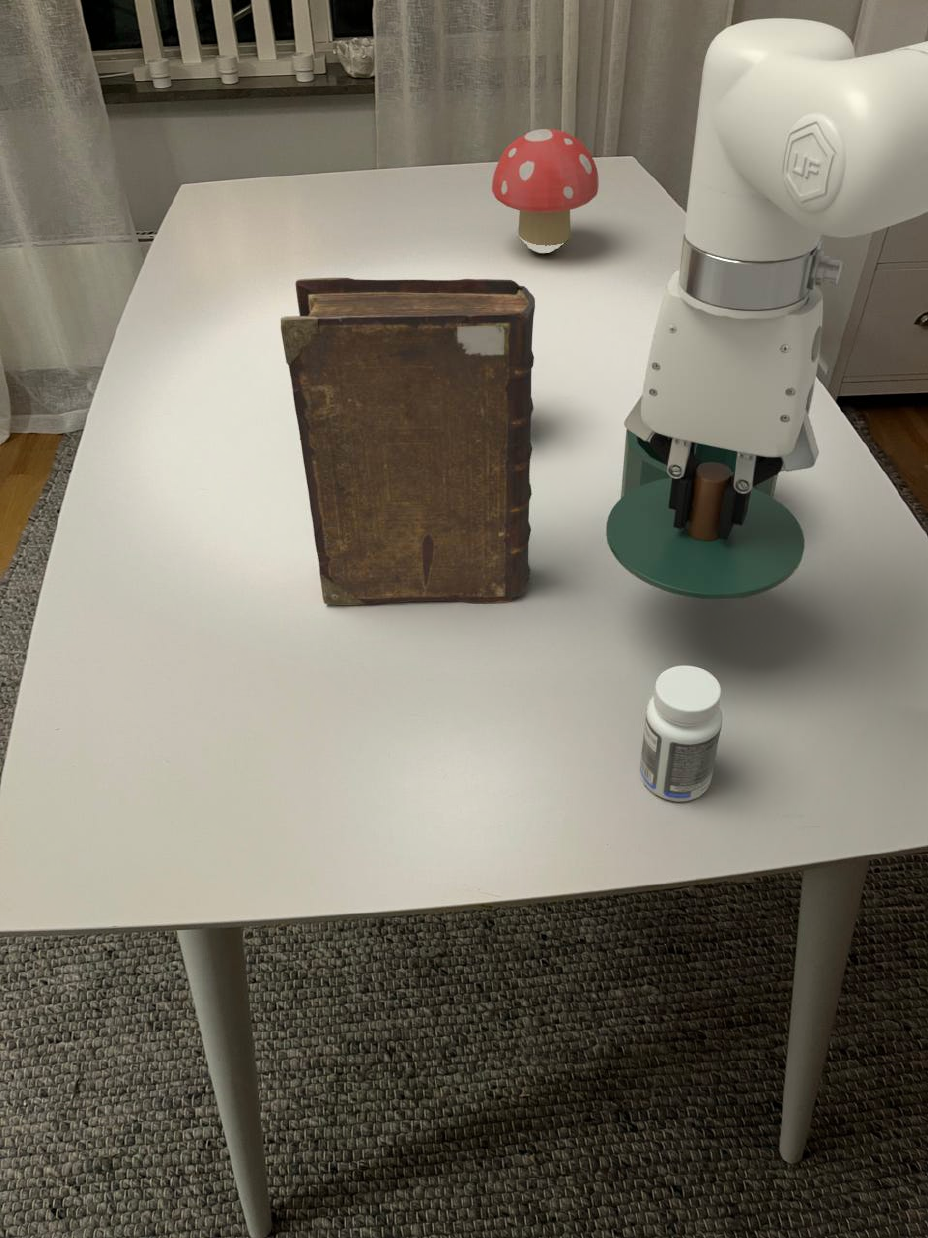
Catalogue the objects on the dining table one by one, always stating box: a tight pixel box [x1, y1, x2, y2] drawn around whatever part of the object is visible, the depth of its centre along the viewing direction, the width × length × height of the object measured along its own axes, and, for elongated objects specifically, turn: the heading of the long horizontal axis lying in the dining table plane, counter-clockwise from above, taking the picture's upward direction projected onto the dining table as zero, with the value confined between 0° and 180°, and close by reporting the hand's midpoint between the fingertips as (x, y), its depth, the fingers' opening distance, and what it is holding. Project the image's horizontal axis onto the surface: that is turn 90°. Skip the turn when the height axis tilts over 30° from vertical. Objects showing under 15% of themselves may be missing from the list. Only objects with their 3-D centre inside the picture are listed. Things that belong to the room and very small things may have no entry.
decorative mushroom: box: [491, 128, 600, 246], centre depth 128 cm, size 13×13×15 cm
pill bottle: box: [639, 665, 723, 803], centre depth 65 cm, size 5×5×8 cm
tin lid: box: [605, 462, 805, 601], centre depth 70 cm, size 14×14×6 cm
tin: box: [620, 428, 779, 499], centre depth 87 cm, size 13×13×8 cm
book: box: [280, 277, 536, 606], centre depth 75 cm, size 17×7×25 cm, turn 83°
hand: (705, 521), depth 71 cm, fingers closed on tin lid, 2 cm apart
